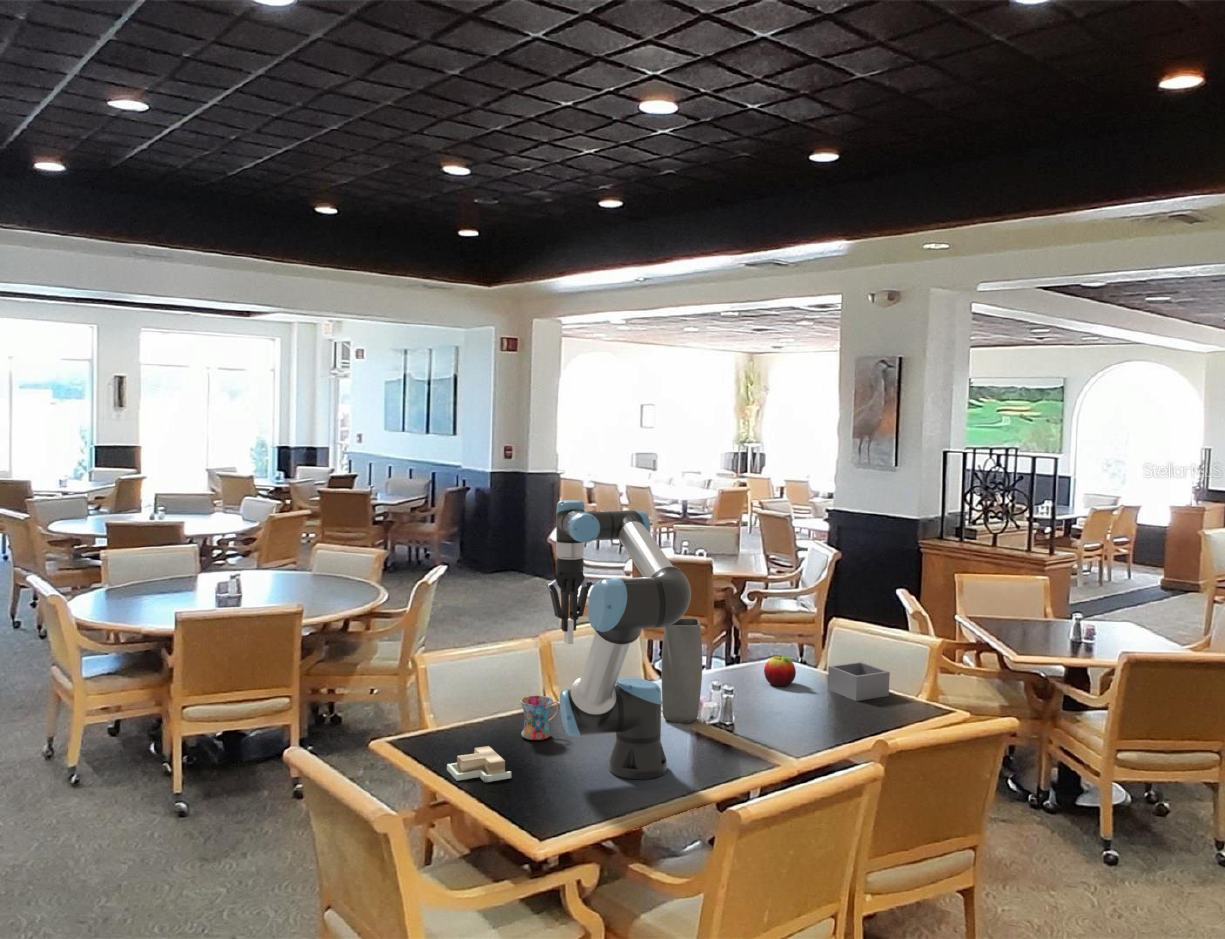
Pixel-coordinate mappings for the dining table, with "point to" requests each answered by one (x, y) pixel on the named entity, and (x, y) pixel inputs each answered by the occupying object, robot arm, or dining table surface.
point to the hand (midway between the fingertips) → (568, 642)
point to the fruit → (780, 671)
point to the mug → (537, 717)
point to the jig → (476, 774)
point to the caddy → (858, 681)
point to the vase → (681, 670)
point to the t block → (481, 761)
